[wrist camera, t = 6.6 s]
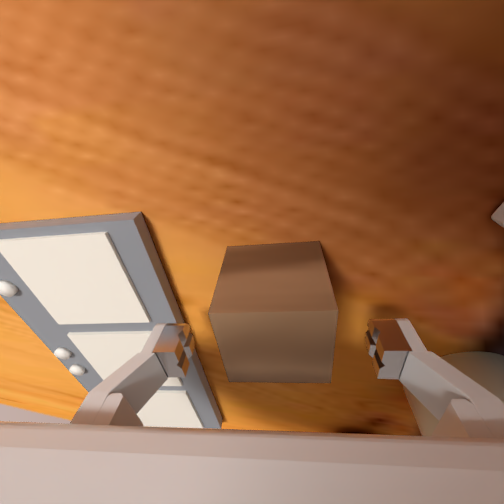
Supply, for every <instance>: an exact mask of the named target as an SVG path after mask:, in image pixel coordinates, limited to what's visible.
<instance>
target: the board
mask: <svg viewBox="0 0 504 504" xmlns="http://www.w3.org/2000/svg"><path fill="white" fill-rule="evenodd" d="M0 295H1V296H2V297H3V298H4V300H5V301H6V302H7V303H8V304H9V305H10V306H11V307H12V308H13V309H14V311H15V312H16V313H17V314H18V315H19V316H20V317H21V318H22V319H23V320H24V322H25V323H26V324H27V325H28V326H29V327H30V328H31V329H32V330H33V331H34V333H35V334H36V335H37V336H38V337H39V338H40V339H41V340H42V341H43V342H44V344H45V345H46V346H47V347H48V348H49V349H50V350H51V351H52V352H53V354H54V355H55V356H56V357H57V358H58V359H59V360H60V361H61V362H62V363H63V365H64V366H65V367H66V368H67V369H68V370H69V371H70V372H71V373H72V374H73V376H74V377H75V378H76V379H77V380H78V381H79V382H80V383H81V384H82V385H83V387H84V388H85V389H86V390H87V391H88V392H90V391H91V390H92V389H93V388H95V387H96V386H97V385H98V384H100V383H101V382H102V381H103V380H105V379H106V378H107V377H108V376H110V375H111V374H112V373H113V372H115V371H116V370H117V369H118V368H120V367H121V366H122V365H123V364H125V363H126V362H127V361H128V360H130V359H131V358H132V357H133V356H135V355H136V354H137V353H141V351H142V349H143V347H144V345H145V343H146V341H147V340H148V338H149V336H150V334H151V332H152V330H153V328H154V326H155V325H156V324H157V323H185V322H184V320H183V317H182V315H181V312H180V310H179V307H178V304H177V302H176V299H175V297H174V294H173V292H172V289H171V287H170V284H169V282H168V279H167V276H166V274H165V271H164V269H163V266H162V264H161V261H160V259H159V256H158V254H157V251H156V249H155V246H154V243H153V241H152V238H151V236H150V233H149V231H148V228H147V226H146V223H145V221H144V218H143V215H142V213H141V212H133V213H121V214H109V215H97V216H85V217H73V218H61V219H49V220H36V221H24V222H12V223H0ZM188 361H189V363H190V364H189V368H188V371H187V374H186V377H169V378H168V379H167V380H166V381H165V382H164V384H163V385H162V386H161V387H160V388H159V389H158V390H157V392H156V393H155V394H154V395H153V396H152V397H151V398H150V400H149V401H148V402H147V403H146V404H145V405H144V406H143V408H142V409H141V410H140V411H139V412H138V413H137V415H138V417H139V418H140V419H141V421H142V422H143V425H144V426H150V427H179V428H213V429H221V426H222V416H221V414H220V411H219V409H218V406H217V404H216V401H215V398H214V396H213V393H212V391H211V388H210V386H209V383H208V381H207V378H206V376H205V373H204V371H203V368H202V365H201V363H200V360H199V358H198V355H197V353H196V350H195V348H194V351H193V355H192V356H191V357H190V358H189V359H188Z"/></svg>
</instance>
